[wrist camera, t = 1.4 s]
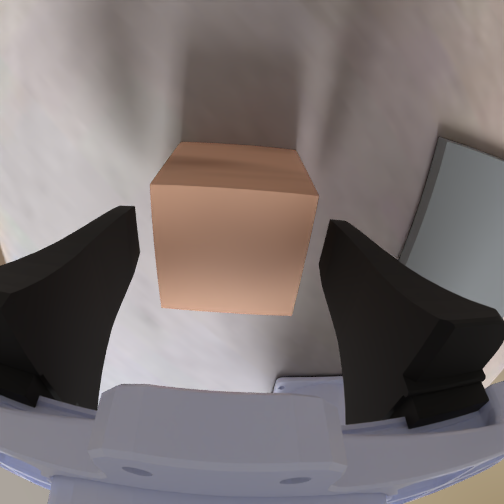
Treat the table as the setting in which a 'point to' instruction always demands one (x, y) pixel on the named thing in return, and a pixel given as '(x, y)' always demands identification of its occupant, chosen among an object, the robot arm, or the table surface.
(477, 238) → the slate mat
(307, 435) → the robot arm
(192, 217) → the cube
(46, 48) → the table surface
